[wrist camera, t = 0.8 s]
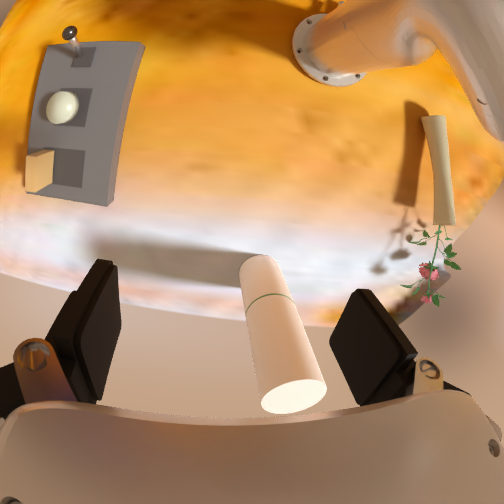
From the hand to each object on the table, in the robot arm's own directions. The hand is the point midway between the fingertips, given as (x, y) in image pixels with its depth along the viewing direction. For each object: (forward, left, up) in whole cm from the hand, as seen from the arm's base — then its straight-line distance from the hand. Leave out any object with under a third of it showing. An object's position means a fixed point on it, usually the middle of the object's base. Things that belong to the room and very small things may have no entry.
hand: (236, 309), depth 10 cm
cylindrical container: (+17, +11, -32) cm, 38 cm away
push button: (-5, -23, -27) cm, 36 cm away
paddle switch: (+4, -26, -29) cm, 39 cm away
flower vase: (-4, +38, -32) cm, 50 cm away
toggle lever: (-13, -23, -28) cm, 38 cm away
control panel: (-3, -23, -32) cm, 39 cm away
